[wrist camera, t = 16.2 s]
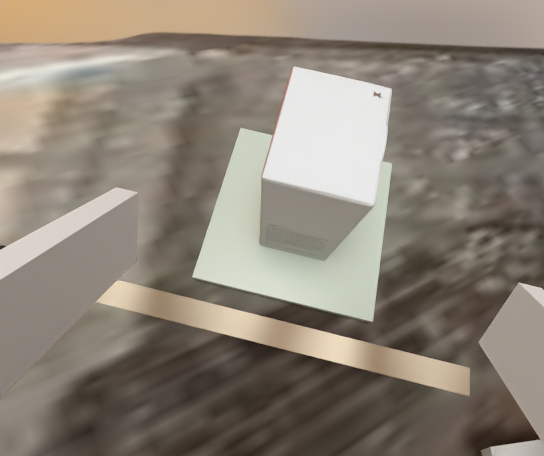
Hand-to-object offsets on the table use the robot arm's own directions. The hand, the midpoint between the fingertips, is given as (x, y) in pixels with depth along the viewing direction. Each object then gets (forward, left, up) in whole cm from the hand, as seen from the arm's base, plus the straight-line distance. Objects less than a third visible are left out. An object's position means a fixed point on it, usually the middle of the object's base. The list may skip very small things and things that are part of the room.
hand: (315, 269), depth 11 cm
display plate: (0, +9, -18) cm, 20 cm away
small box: (0, +9, -17) cm, 19 cm away
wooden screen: (0, -2, -18) cm, 18 cm away
